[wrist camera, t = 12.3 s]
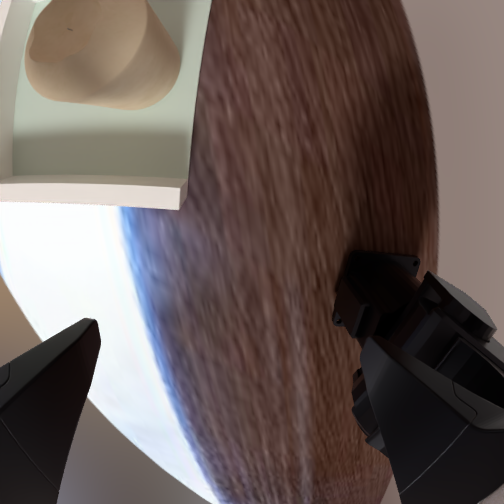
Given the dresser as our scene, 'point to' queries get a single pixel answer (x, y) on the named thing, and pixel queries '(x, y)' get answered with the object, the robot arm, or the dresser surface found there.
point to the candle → (101, 54)
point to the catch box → (97, 125)
